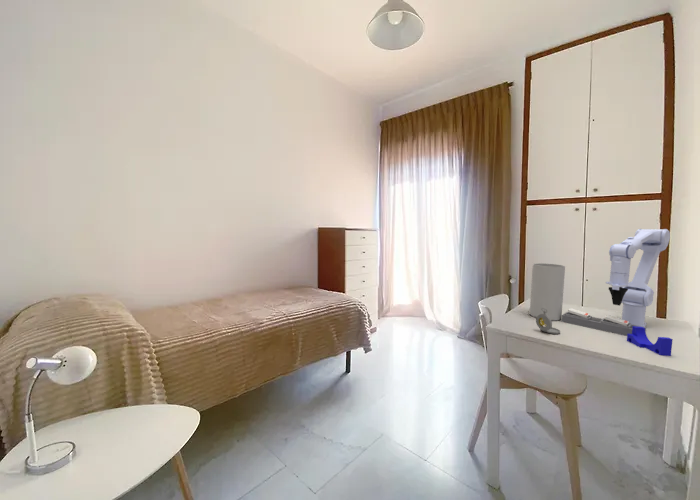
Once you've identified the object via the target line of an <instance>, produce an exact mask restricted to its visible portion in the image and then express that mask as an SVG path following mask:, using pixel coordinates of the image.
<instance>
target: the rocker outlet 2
mask: <svg viewBox="0 0 700 500" xmlns="http://www.w3.org/2000/svg"><path fill="white" fill-rule="evenodd" d="M604 319H606V320H609V321H612V322H614V323H615V324H616V323H619V324H622V325H625V326H627V325H628V323H629V321H626V320H622V318H619V317H615V316H611V315H609V314H606V315H605V316H604Z"/></svg>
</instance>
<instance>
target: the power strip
mask: <svg viewBox="0 0 700 500" xmlns="http://www.w3.org/2000/svg"><path fill="white" fill-rule="evenodd" d="M604 318H605V317H604ZM604 318H602V317H601V318H600V317H595V316H593V315H589V317H588V318H585V317H582V316H576V314H573V313H570V312H568V311H566V312H564V313H562V317H561V322H562V323H567V324H571V325H577V326H580V327H585V328H590V329H595V330H597V331H598V330H599V331H603V332H607V333H612V334H617V335H622V336H626V337H627V334H632V327H633V326H637V325H632V324H631V323H628V325H627V326H625V325H622V324H619V323H616V324H615V323H614V322H612V321H609V320H606V319H604ZM638 327H642V326H638ZM644 328H645V332H646V333H647V326H645V327H644Z"/></svg>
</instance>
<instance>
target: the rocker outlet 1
mask: <svg viewBox="0 0 700 500" xmlns="http://www.w3.org/2000/svg"><path fill="white" fill-rule="evenodd" d="M567 312H570V313H573V314H576V316H582V317H585V318H588V317H589V315H590V313H587V312H584V311H582V310H578V309H575V308H572V307H570V308H568V309H567ZM590 316H591V315H590Z"/></svg>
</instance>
